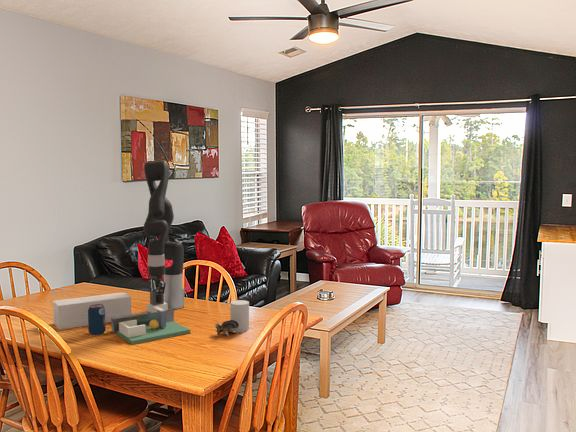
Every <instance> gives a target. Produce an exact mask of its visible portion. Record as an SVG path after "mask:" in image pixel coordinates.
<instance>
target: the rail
mask: <svg viewBox="0 0 576 432" xmlns="http://www.w3.org/2000/svg"><path fill="white" fill-rule="evenodd" d="M165 311H166V322H172V321H174V322H175V316H174V315H175V313H174V312H175V309H172V308H168V310H165ZM131 320H137V326H138V325H144V324H145V325H146V326H149V323H150V321H152V320H157V321H158V318H157V312H153V313H150V312H148V311H144V312H138V313H137V312H136V313H131V314H130V315H124V316H118V317H112V318H111V322H110V325H111V326H110V327H111V328H110V329H111V330H110V331H111V332H112V333H113V334H117V331H119V322H125V321H131Z"/></svg>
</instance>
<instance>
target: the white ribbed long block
mask: <svg viewBox="0 0 576 432" xmlns="http://www.w3.org/2000/svg"><path fill="white" fill-rule="evenodd" d="M95 304H102V305H104V308H105V322H106V323H111V318H112V317H118V316H124V315H130V314H132V296H131V295H130V294H128V293H125V292H124V291H123V292H115V293H114V292H113V293H107V294H99V295H90V296H82V297H75V298H74V297H72V298H65V299H58V300H57V299H56V300H53V301H52V307H53V324H54V325H55V327H56V328H57V329H58V330H66V329H71V328H78V327H85V326H88V309H89V306H91V305H95Z"/></svg>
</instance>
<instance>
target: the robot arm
mask: <svg viewBox="0 0 576 432" xmlns="http://www.w3.org/2000/svg"><path fill="white" fill-rule="evenodd" d="M143 168H144V169H143V170H144V176H145V179H146V183H147V186H148V191H149V194H150V198H149V200H148V213H147V216H146V219H145V222H144V224H143V227H142V228H143V229H142V230H143V233H144V234H145V235H146V236H148V237H153V236H154V237H157V239H155V240H152V241H149V242H148V243H147V275H148V276H150V277H148V278H147V283H148V287H149V288H148V289H149V292H150V291H152V290H156V303H161V302H162V298H161V295H162V294H164V302H165V303H167V304H168V308H172V309H174V310H176V309H177V310H178V309H181V308H183V307H185V288H184V287H183V285H184V284H183V270H184V261H185V260H184V257H185V256H184V255H185V249H184V245H183V243H182V242H180V241H179V242H178V241H170V237H169V231H170V228H171V226H172V224H173V221H174V218H175V217H174V216H175V214H174V209H173V205H172V202H171V201H170V200H169V199H168V197H166V194H167V189H168V184H169V178H170V167H169V164H168V162H167V161H166V160H155V161H154V160H153V161H148V162H145V163H144V165H143ZM158 181H159V184H158V185H157V183H156V182H158ZM166 261H172V263H171V265H169V266H166Z"/></svg>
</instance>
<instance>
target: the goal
mask: <svg viewBox="0 0 576 432" xmlns="http://www.w3.org/2000/svg"><path fill="white" fill-rule="evenodd" d="M119 332H120V333H122V334H123V335H125V336H126V337H128V338H129V337H135V336H140V335H145V334H146V325H145V324H144V325H138V326H137V320H131V321H125V322H119Z"/></svg>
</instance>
